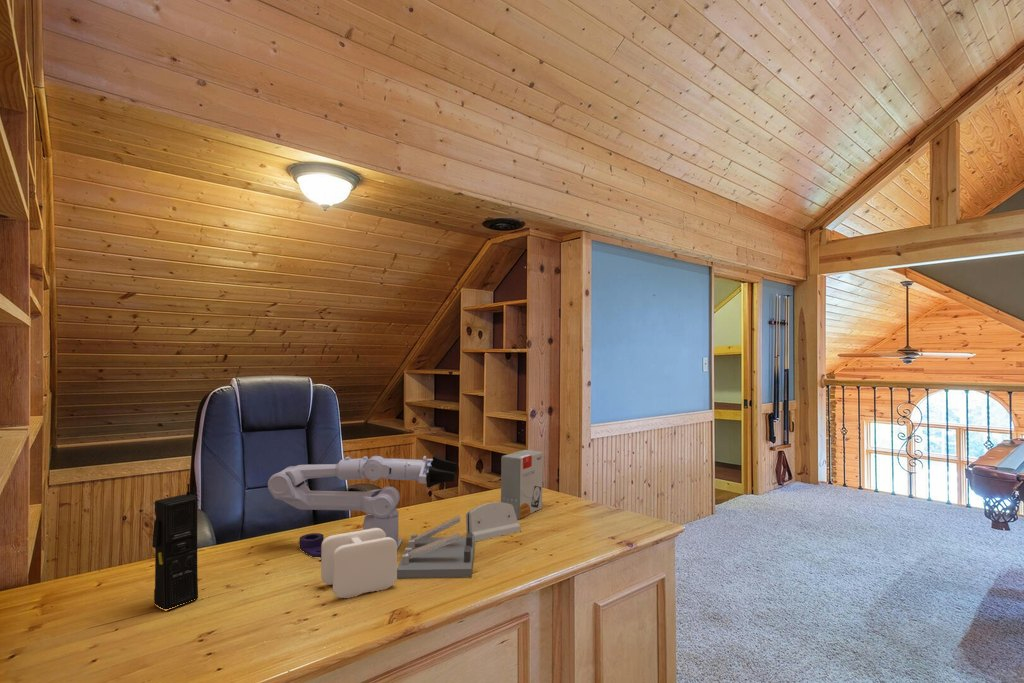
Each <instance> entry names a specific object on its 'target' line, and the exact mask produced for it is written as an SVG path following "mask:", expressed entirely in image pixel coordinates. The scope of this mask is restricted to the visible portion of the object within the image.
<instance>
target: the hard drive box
mask: <svg viewBox="0 0 1024 683" xmlns="http://www.w3.org/2000/svg"><path fill="white" fill-rule="evenodd" d="M543 457H544V456H543V451H538V450H531V449H523V450H519V451H515V452H513V453H509V454H505V455H502V456H501V461H500V462H501V463H500V464H501V468H500V470H501V472H500V476H501V478H500V502H502V503H508V504H511V505H513V507H514V511H515V514H516V518H517V520H521V519H523V518H525V517H524V516H526V517H527V516H529V515H531V514H533V513H536V512H538V511H540V510H542V509H543V464H544V463H543V462H544V461H543ZM541 508H542V509H541ZM539 509H540V510H539ZM537 510H538V511H537ZM535 511H536V512H535ZM520 518H521V519H520Z"/></svg>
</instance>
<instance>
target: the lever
mask: <svg viewBox="0 0 1024 683" xmlns="http://www.w3.org/2000/svg"><path fill="white" fill-rule="evenodd" d="M324 539H325V538H324V534H323V533H318V532H315V533H314V532H313V533H307V534H303V535H301V536H300V537H299V548H300V549H301V550H302V551H304V552H305V553H304V552H303V553H304V554H306V553H307V554H308V556H309V555H310V556H312V557H320V558H321V545H322V542H323V540H324ZM300 549H299V550H300ZM301 550H300V551H301ZM302 551H301V552H302ZM307 554H306V555H307ZM310 556H309V557H310ZM312 557H311V558H312Z"/></svg>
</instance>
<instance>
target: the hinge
mask: <svg viewBox="0 0 1024 683" xmlns="http://www.w3.org/2000/svg"><path fill="white" fill-rule="evenodd" d="M465 524H466V525H465V527H466V529H465V530H466V532H465V533H466V534H467V533H472V537H475V543H476V541H478V542H481V540H482V541H485V539H487V540H489V539H488V538H491V539H493V538H492V537H496V538H498V537H497V536H500V537H502V536H501V535H505V534H509V535H511V534H510V533H514V532H519V531H521V532H522V528H521V524H520V523H519V521H518V519H517V518H516V514H515V511H514V507H513V505H511V504H508V503H502V502H501V501H500V502H499V501H495V502H493V501H492V502H487V503H482V504H480V505H478V506H476V507H473V508H472V509H470V510H469V511H467V512H466V513H465ZM519 533H520V532H519ZM514 534H515V533H514ZM505 536H506V535H505Z"/></svg>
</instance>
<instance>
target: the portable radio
mask: <svg viewBox="0 0 1024 683" xmlns="http://www.w3.org/2000/svg"><path fill="white" fill-rule="evenodd" d="M190 485H191V483H186V486H187V491H186V493H185V494H180V495H179V494H178V495H175V496H171V497H166V498H161V499H157V500H154V514H155V519H154V520H153V533H152V544H151V545H152V546H151V547H152V548H154V549H155V555H154V557H155V558H154V560H155V561H154V565H155V566H154V568H155V569H154V590H153V604H154V603H155V604H156V605H158V606H159V607H161V608H163V609H169V608H172V607H175V606H177V605H180V604H183V603H186V602H189V601H191V600H194V599H197V598H198V597H199V590H198V589H199V583H198V580H199V578H198V495H194V494H191V491H190ZM197 600H198V599H197ZM194 601H195V600H194ZM189 603H190V602H189ZM155 604H154V605H155ZM186 604H187V603H186Z"/></svg>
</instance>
